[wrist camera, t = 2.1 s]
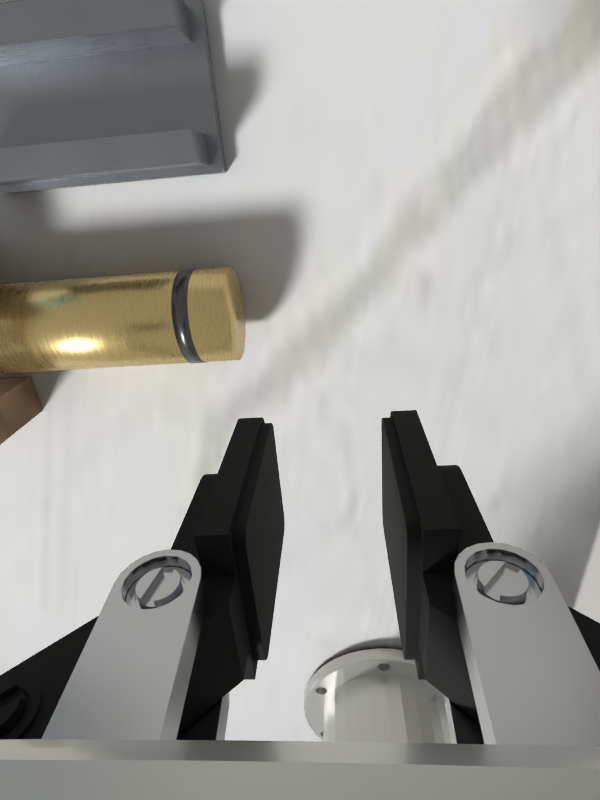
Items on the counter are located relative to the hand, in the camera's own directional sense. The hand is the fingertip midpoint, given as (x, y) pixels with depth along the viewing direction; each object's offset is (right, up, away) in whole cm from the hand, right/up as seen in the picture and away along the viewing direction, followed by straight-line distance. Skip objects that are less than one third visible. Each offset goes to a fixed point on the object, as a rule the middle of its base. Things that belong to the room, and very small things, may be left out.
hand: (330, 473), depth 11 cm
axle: (-11, +6, +15) cm, 19 cm away
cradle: (-10, +15, +10) cm, 21 cm away
